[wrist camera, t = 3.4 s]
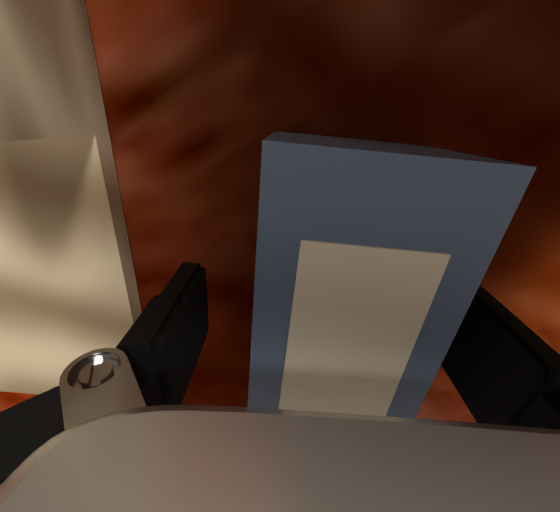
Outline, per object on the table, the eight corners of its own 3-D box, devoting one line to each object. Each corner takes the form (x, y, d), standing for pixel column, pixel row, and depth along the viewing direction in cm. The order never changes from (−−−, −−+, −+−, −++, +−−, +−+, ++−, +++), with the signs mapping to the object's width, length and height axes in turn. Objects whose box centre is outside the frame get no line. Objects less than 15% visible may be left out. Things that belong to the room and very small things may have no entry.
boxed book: (355, 378, 15) (382, 488, 11) (257, 369, 15) (243, 475, 11) (425, 145, 10) (539, 167, 5) (275, 130, 10) (262, 140, 5)
